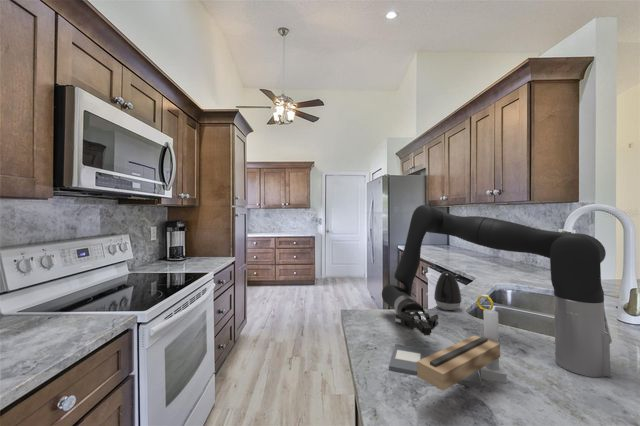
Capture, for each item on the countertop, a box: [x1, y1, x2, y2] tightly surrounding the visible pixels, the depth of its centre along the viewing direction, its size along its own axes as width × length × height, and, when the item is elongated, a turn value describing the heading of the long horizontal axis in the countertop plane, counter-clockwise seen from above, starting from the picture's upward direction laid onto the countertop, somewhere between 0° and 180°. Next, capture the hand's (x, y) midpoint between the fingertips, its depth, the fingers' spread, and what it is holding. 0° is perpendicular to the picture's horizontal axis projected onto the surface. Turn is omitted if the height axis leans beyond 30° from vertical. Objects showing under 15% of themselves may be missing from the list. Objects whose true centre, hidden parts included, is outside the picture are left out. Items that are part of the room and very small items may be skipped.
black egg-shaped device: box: [433, 271, 462, 311], centre depth 116 cm, size 10×10×15 cm
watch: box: [476, 294, 494, 311], centre depth 114 cm, size 6×3×6 cm, turn 30°
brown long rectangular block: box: [416, 334, 501, 392], centre depth 59 cm, size 22×6×4 cm, turn 124°
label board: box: [388, 309, 508, 389], centre depth 70 cm, size 26×13×15 cm, turn 68°
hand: (427, 331), depth 73 cm, fingers closed
